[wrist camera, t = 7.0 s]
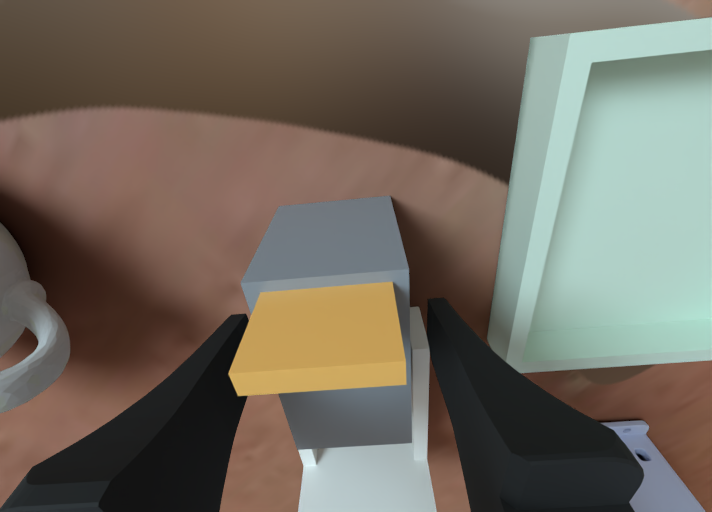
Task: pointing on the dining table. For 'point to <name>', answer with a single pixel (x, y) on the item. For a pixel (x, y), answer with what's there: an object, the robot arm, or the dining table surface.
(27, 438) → the dining table surface
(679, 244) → the tray
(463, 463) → the robot arm
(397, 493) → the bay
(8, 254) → the teacup
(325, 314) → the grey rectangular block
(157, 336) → the dining table surface
